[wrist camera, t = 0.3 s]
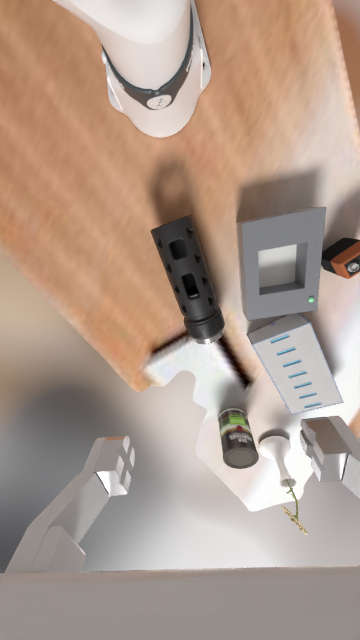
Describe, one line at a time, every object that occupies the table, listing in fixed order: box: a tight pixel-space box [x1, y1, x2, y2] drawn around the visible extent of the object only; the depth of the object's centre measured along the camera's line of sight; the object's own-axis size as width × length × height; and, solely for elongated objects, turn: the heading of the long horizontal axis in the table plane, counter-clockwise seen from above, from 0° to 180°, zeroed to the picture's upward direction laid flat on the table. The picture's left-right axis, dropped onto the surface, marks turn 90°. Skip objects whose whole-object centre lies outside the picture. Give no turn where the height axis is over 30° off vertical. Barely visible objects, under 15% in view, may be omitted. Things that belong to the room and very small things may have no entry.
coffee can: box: [218, 408, 259, 469], centre depth 70 cm, size 10×10×14 cm
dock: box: [236, 207, 326, 320], centre depth 50 cm, size 22×16×6 cm
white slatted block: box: [247, 313, 343, 415], centre depth 62 cm, size 30×14×8 cm, turn 32°
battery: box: [321, 238, 360, 279], centre depth 47 cm, size 4×7×10 cm, turn 131°
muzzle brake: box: [151, 215, 225, 344], centre depth 50 cm, size 10×28×10 cm, turn 20°
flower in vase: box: [259, 436, 308, 535], centre depth 70 cm, size 13×11×25 cm
